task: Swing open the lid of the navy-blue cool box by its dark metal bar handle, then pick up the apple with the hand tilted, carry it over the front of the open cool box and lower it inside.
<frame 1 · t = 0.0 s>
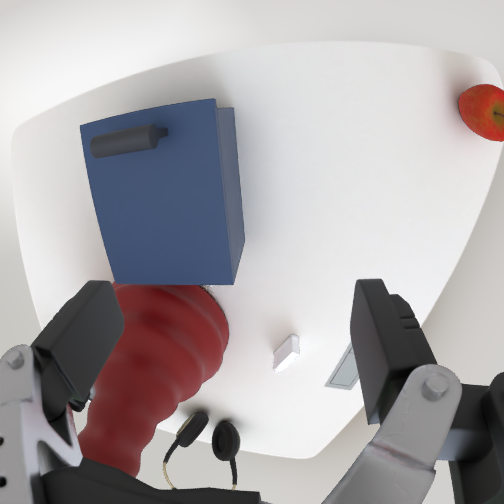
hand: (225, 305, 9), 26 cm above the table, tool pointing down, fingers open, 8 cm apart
eraser: (286, 344, 44), on the table
apple: (466, 108, 26), on the table
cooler: (185, 180, 34), on the table
table lamp: (165, 322, 44), on the table
headphones: (212, 419, 56), on the table
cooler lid: (145, 210, 24), point 11 cm above the table, hinge at 0.0°
camera: (95, 367, 53), on the table
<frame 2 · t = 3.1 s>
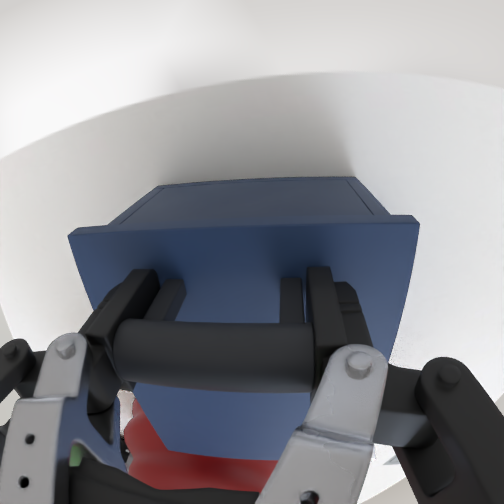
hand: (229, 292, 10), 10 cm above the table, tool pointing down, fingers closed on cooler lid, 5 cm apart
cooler: (261, 286, 22), on the table
table lamp: (212, 428, 32), on the table
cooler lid: (242, 422, 12), point 11 cm above the table, hinge at 0.0°, touching gripper
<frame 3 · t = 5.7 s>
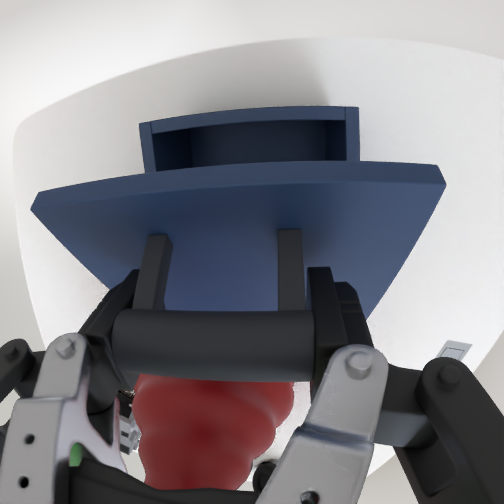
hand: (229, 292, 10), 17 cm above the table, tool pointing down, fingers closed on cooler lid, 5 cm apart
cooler: (262, 200, 26), on the table
table lamp: (215, 368, 36), on the table
headphones: (254, 460, 47), on the table
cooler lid: (245, 343, 13), point 16 cm above the table, hinge at 33.5°, touching gripper
camera: (119, 411, 44), on the table
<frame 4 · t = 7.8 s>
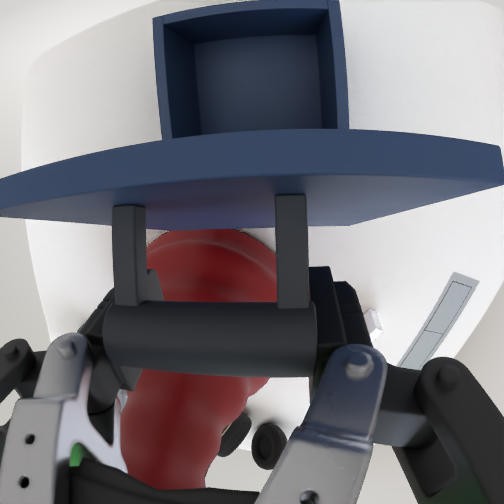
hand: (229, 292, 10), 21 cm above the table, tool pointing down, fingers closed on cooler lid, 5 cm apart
eraser: (359, 322, 36), on the table
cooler: (260, 108, 26), on the table
table lamp: (212, 299, 36), on the table
headphones: (253, 421, 48), on the table
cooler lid: (242, 258, 13), point 18 cm above the table, hinge at 65.2°, touching gripper
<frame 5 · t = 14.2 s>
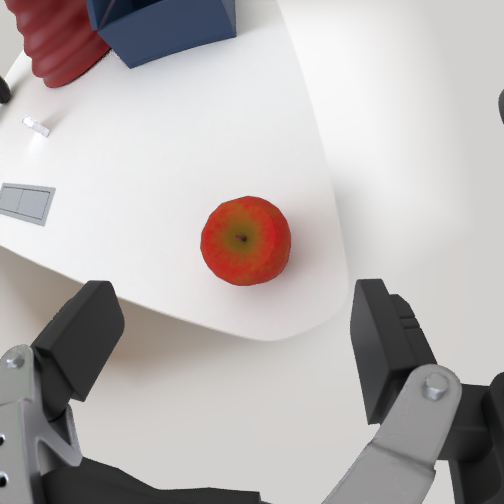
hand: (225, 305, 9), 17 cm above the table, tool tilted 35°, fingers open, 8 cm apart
eraser: (43, 131, 38), on the table
apple: (261, 252, 27), on the table
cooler: (183, 25, 34), on the table
table lamp: (84, 47, 40), on the table
headphones: (1, 110, 45), on the table
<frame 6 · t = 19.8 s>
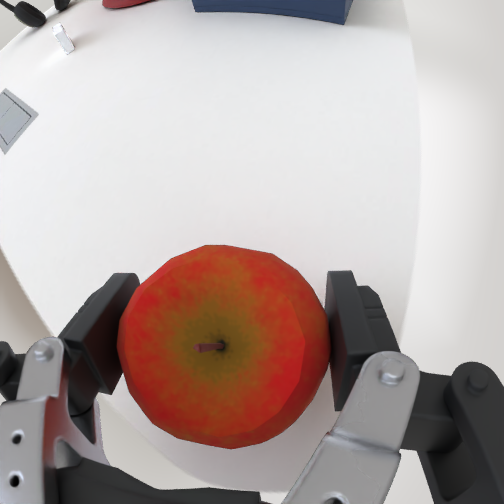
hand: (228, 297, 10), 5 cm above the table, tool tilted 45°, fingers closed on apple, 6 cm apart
eraser: (69, 47, 27), on the table
apple: (247, 348, 14), on the table, touching gripper
headphones: (53, 16, 36), on the table
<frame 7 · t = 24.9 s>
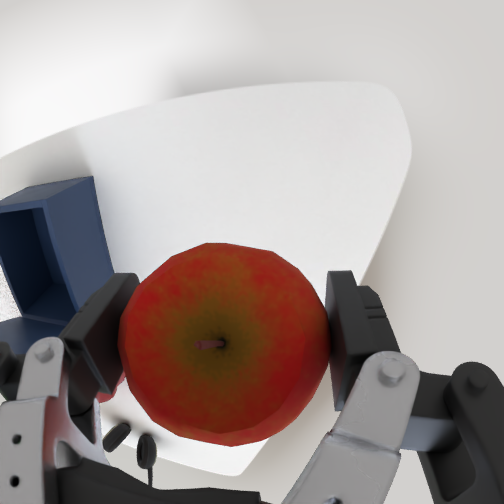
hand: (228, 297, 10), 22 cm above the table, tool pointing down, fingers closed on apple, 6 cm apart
apple: (248, 346, 14), point 20 cm above the table, touching gripper
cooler: (69, 237, 36), on the table
headphones: (136, 430, 57), on the table
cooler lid: (8, 359, 23), point 18 cm above the table, hinge at 65.6°
when the fingers open (8 cm above the table, at t = 33.0 s): apple drops 4 cm, resting on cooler.
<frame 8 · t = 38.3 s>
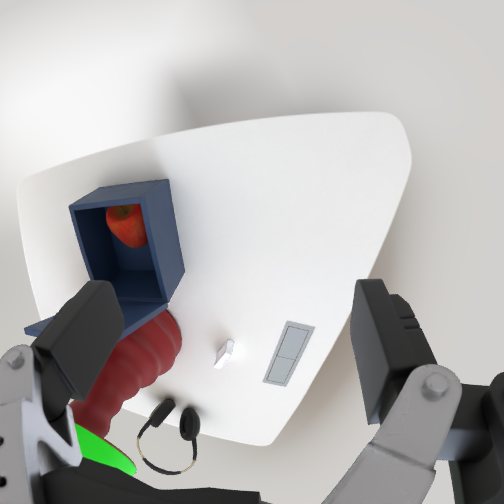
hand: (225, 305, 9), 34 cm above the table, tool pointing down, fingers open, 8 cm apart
eraser: (225, 347, 57), on the table
apple: (140, 239, 45), point 2 cm above the table, touching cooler
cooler: (140, 229, 47), on the table
table lamp: (136, 327, 57), on the table
headphones: (179, 405, 69), on the table
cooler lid: (102, 333, 34), point 18 cm above the table, hinge at 67.8°
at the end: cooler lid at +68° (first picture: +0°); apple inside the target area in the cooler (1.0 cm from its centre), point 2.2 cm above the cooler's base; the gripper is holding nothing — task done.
